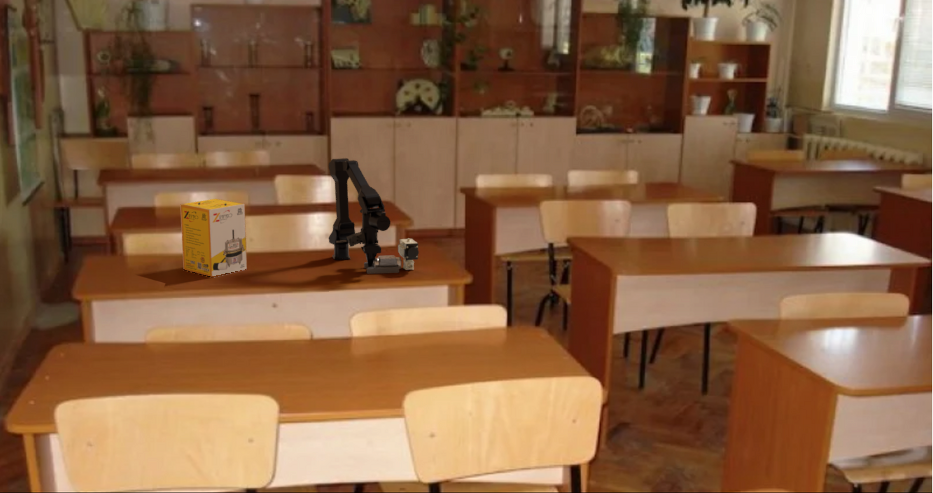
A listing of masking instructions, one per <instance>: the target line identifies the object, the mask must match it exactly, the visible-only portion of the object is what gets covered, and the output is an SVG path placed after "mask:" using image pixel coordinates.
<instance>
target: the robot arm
mask: <svg viewBox="0 0 933 493" xmlns="http://www.w3.org/2000/svg"><path fill="white" fill-rule="evenodd" d="M359 166H360V165H359V162H358V160H354V159H352V160H351V159H349V158H347V157H343V158H341V157H339V158H331V160H330V161H329V162H328V170H329V174H330V177H331V178H332V179H333V181H334V192H335V193H334V194H335V212H336V214H335V215H336V217H335V218H336V219H335V220H334V222H333V225H332V231H331V233H330V234H329V236H328V243H329V244H332V245H333V250H334V251H333V254H332V258H333V260H335V261H337V260H351V256H350V251H349V250H350V249H349V247H354V246H356V245H358V244H359V245H361V244H362V246H360V248H361V250H362V252H363V253H364V254H365V258H366V262H367V263H368V267H371V266H372V264H373V262H374V259H375V258H377V255H378V254H381V253H382V246H381V245H379V239H378V234H379V231H381V232H386V231H387V230H388V229H389V228H390V227H391V220H390V217H388V215H387V214H386V213H387V212H386V209H385V205H384V202H383V201H382V198H381V195H380V194H379V193H378V191H377V190H376V189H375V188H374V187H371V186H370V184H369V182H368V181H367V179H366V177H365V175H364V174H363V172H362V170H361V168H360V167H359ZM349 179H350V181H351V183H352V185H353V186H354V188H355V190H356V192H357V201H358V204H359V207H360V208H361V209H360V210H359V213H361V216H362V217H361V218H362V219H361V225H362V226H361V228H360V232H356V230H355V226H356V225H355V222H354V221H352V220H351V218H350V208H349V207H350V206H349V189H348V188H349V187H348V182H349Z"/></svg>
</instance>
